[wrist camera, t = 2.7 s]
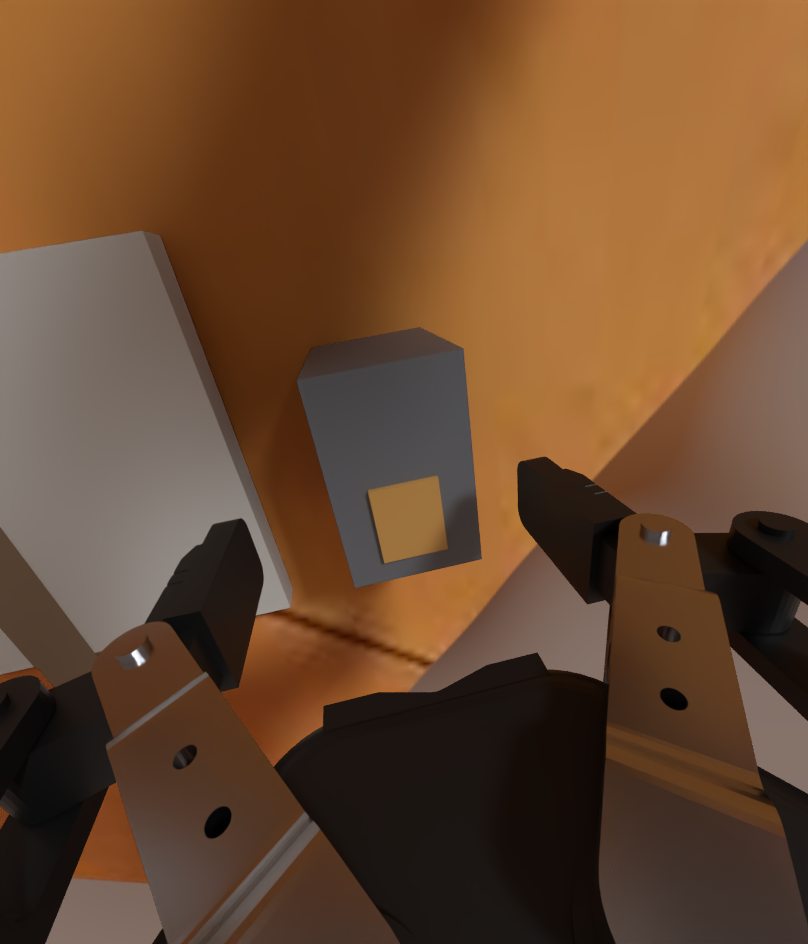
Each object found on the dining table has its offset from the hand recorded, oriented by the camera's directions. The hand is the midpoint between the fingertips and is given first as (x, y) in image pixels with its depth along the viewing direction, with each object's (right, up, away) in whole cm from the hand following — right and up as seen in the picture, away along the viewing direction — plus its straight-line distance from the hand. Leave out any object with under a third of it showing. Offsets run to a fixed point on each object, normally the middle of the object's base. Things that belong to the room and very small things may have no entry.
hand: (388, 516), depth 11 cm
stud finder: (-1, +4, +8) cm, 9 cm away
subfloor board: (-15, +1, +7) cm, 17 cm away
